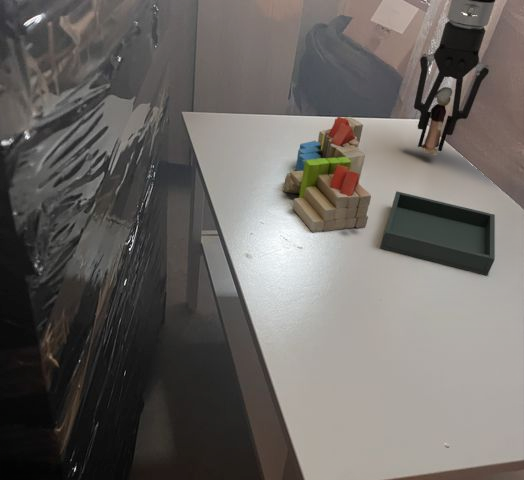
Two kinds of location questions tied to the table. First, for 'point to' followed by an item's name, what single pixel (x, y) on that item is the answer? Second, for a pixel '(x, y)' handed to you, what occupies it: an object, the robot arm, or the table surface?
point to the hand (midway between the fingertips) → (430, 146)
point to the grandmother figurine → (437, 120)
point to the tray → (441, 233)
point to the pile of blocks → (330, 179)
